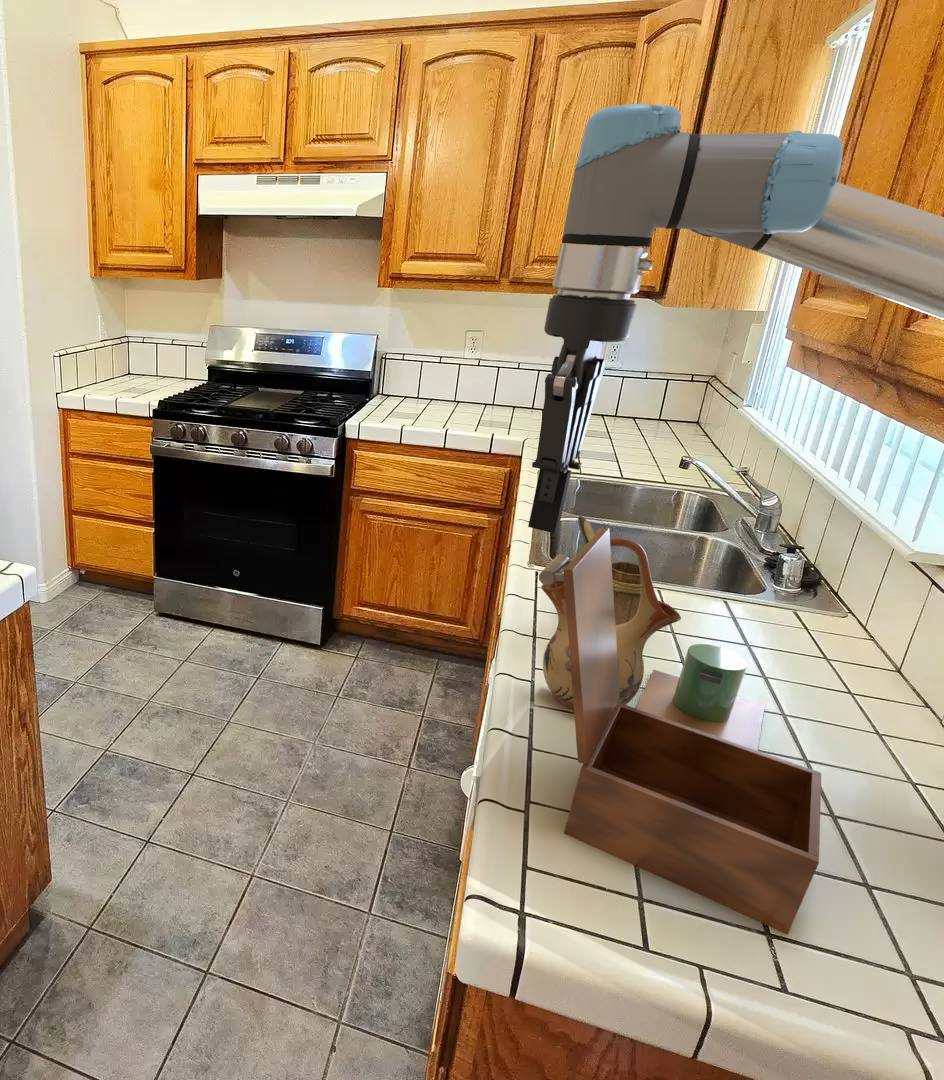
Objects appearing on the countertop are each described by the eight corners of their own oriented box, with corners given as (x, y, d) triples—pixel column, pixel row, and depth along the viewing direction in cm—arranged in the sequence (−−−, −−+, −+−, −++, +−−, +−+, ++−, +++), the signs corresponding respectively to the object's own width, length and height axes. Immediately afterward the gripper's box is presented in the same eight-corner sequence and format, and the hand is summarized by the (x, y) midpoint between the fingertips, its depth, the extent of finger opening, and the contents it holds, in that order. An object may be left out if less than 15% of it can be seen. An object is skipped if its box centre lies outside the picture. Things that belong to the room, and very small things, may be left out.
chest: (792, 843, 81) (821, 772, 77) (785, 940, 69) (819, 862, 65) (597, 765, 91) (615, 700, 88) (562, 838, 80) (581, 767, 76)
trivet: (763, 708, 105) (765, 704, 104) (756, 757, 94) (757, 753, 94) (652, 672, 112) (653, 669, 112) (633, 714, 102) (634, 710, 102)
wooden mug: (562, 604, 133) (584, 508, 126) (647, 627, 126) (675, 527, 119) (549, 622, 126) (572, 522, 120) (639, 648, 119) (668, 543, 113)
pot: (733, 701, 105) (750, 651, 102) (725, 733, 98) (744, 680, 95) (678, 683, 109) (693, 635, 106) (667, 713, 101) (683, 661, 98)
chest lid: (609, 527, 83) (564, 527, 86) (572, 570, 71) (522, 568, 74) (620, 697, 87) (577, 692, 90) (586, 764, 76) (538, 755, 79)
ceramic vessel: (649, 709, 103) (699, 540, 94) (647, 744, 96) (701, 564, 86) (524, 674, 110) (559, 514, 101) (513, 704, 103) (550, 534, 94)
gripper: (622, 300, 64) (563, 555, 73) (650, 296, 74) (595, 521, 83) (532, 293, 68) (486, 535, 77) (570, 290, 78) (526, 505, 87)
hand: (543, 528), depth 80 cm, fingers closed
